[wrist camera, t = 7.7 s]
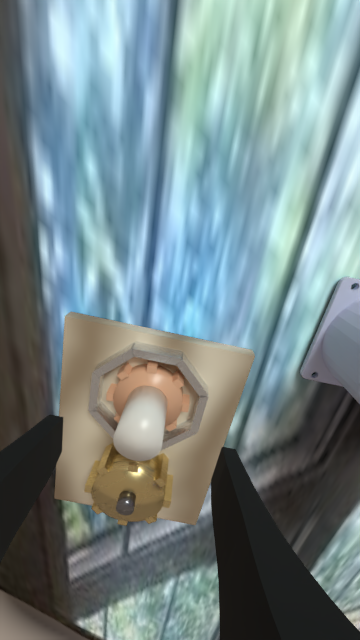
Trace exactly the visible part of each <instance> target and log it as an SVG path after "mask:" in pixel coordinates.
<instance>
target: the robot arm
mask: <svg viewBox="0 0 360 640" xmlns="http://www.w3.org/2000/svg"><path fill="white" fill-rule="evenodd" d="M354 283H356V286H355V288H353V289H351V286H352V284H354ZM314 372H316V374H315V375H311V374H312V373H314ZM300 374H301V376H302V377H303V378H305V379H308V380H313V381H318V382H323V383H328V384H332V385H337V386H342V387H344V388H345V389H346V390H347V391H348V392H349V393H350V394H351V395H352V396H353V398H354V399H355V400H356V401H357V402H358V403H359V404H360V279H356V278H351V277H343V278H342V279H340V280H339V282H338V284H337V286H336V289H335V291H334V293H333V295H332V298H331V300H330V302H329V305H328V307H327V309H326V312H325V314H324V316H323V319H322V321H321V323H320V326H319V328H318V330H317V333H316V335H315V337H314V340H313V342H312V344H311V346H310V349H309V351H308V353H307V356H306V358H305V360H304V363H303V365H302V367H301V370H300ZM62 439H63V417H60V416H54V415H49V416H47V417H46V418H44V419H43V420H42V421H40V422H39V423H38V424H37V425H35V426H34V427H33V428H31V429H30V430H29V431H28V432H26V433H25V434H24V435H22V436H21V437H20V438H18V439H17V440H15V441H14V442H13V443H11V444H10V445H9V446H7V447H6V448H4V449H3V450H2V451H0V562H1V560H2V558H3V557H4V555H5V553H6V551H7V549H8V547H9V545H10V543H11V541H12V539H13V538H14V536H15V534H16V532H17V531H18V529H19V527H20V526H21V524H22V522H23V521H24V519H25V517H26V516H27V514H28V513H29V511H30V509H31V508H32V506H33V504H34V503H35V501H36V499H37V498H38V496H39V494H40V493H41V491H42V489H43V488H44V486H45V484H46V483H47V481H48V479H49V478H50V476H51V474H52V472H53V470H54V468H55V466H56V464H57V461H58V459H59V457H60V455H61V453H62ZM211 506H212V517H213V527H214V536H215V546H216V556H217V565H218V578H219V607H220V640H360V632H359V630H358V629H357V628H356V627H355V626H354V625H353V624H352V623H351V622H350V621H349V620H348V618H347V617H346V616H345V615H344V614H343V613H342V611H341V610H340V609H339V608H338V607H337V606H336V604H335V603H334V602H333V601H332V600H331V599H330V597H329V596H328V595H327V594H326V593H325V591H324V590H323V589H322V587H321V586H320V585H319V584H318V582H317V581H316V580H315V579H314V577H313V576H312V575H311V573H310V572H309V571H308V570H307V568H306V567H305V566H304V564H303V563H302V562H301V560H300V559H299V558H298V556H297V555H296V553H295V552H294V551H293V549H292V548H291V546H290V545H289V543H288V542H287V541H286V539H285V538H284V536H283V535H282V533H281V532H280V530H279V528H278V527H277V525H276V524H275V522H274V520H273V519H272V517H271V516H270V514H269V512H268V511H267V509H266V507H265V505H264V504H263V502H262V500H261V498H260V497H259V495H258V493H257V491H256V489H255V487H254V486H253V484H252V482H251V480H250V478H249V476H248V474H247V472H246V470H245V468H244V466H243V464H242V462H241V460H240V458H239V455H238V453H237V451H236V450H235V449H231V448H225V447H222V448H221V451H220V454H219V457H218V460H217V463H216V466H215V469H214V472H213V475H212V479H211Z"/></svg>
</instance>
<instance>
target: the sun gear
mask: <svg viewBox="0 0 360 640" xmlns="http://www.w3.org/2000/svg"><path fill="white" fill-rule="evenodd" d="M168 462H169V458H168V457H167V456H166V455H165V454H164V453H162V454H160V455H157V456H155V457H154V458H152V459H150V460H146V461H134V460H130V459H128V458H126V457H124V456H122V455H121V454H120V453H119V452H118V451H117V450H116V448H115V446H114V443H112V444H110V445H108V446H106V448H105V450H104V453H103V455H102V458H101V461H97V460H95V462H94V465H93V467H92V470H91V472H90V475H89V477H88V479H87V482H86V484H85V490H84V492H87V493H91V495H92V499H93V501H94V503H93V506H92V510H93V511H95V512H96V513H97V514H99V513H102V512H103V513H105V514H106V515H108V516H110V517H112V518H115V519H118V524H120V525H126V526H127V522H128V521H130V522H135V521H143V520H145V521H146V522H147V523H148V524H150V523H152V522H155V521H156V520H157V513H158V512H159V511H160V510H161V508H162V507H165V508H169V507H170V504H171V497H172V484H173V475H169V474H167V472H168Z"/></svg>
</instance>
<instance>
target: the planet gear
mask: <svg viewBox="0 0 360 640" xmlns="http://www.w3.org/2000/svg"><path fill="white" fill-rule="evenodd" d="M158 363H159V362H157V361H152V360H149V361H148V364H141V365H137V366H134V367H132V366H131V365H130V364H129V363H126V364H125V365H123V366H122V367H121V368H120V370H119V372H118V374H117V376H118V377H119V379H120V380H119V382H118V384H113V383H111V385H110V387H109V389H108V391H107V394H106V400H107V401H113V404H114V407H115V410H116V414H115V417H114V419H115V420H116V421H117V422H118V426H117V429H116V431H115V434H114V438H113V443H114V446H115V448H116V450H117V451H118V452H119V453H120V454H121V455H122V456H124V457H126V458H128V459H130V460H134V461H146V460H150V459H152V458H154V457H155V456H157V455H158V454H159V452H160V451H161V448H162V442H163V435H164V428H166V429H167V430H168V431H169V432H170V431H172V430H173V429H175V428H176V426H177V418H178V417H179V415H180V413H181V412H188V410H189V403H190V395H187V394H183V389H182V386H184V375H183V374H182V373H181V372H180V371H179V370H178V371H176V372H175V373H172V372H171V371H170V370H168V369H166V368H164V367H162V366H159V365H158Z"/></svg>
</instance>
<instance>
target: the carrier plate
mask: <svg viewBox="0 0 360 640" xmlns="http://www.w3.org/2000/svg"><path fill="white" fill-rule="evenodd" d="M136 341H137V342H142V343H147V344H151V345H156V346H161V347H166V348H170V349H175V350H180V351H182V352H184V353H185V355H186V356H187V358H188V359H189V360H190V362H191V363H192V365H193V366H194V367H195V369H196V370H197V372H198V373H199V374H200V376H201V377H202V379H203V380H204V382H205V383H206V384H207V387H208V396H209V397H208V400H207V404H206V407H205V410H204V414H203V417H202V420H201V424H200V427H199V430H198V432H197V434H195V435H193V436H191V437H189V438H187V439H184V440H182V441H180V442H178V443H176V444H174V445H172V446H170V447H168V448H165V449H163V450H161V451H160V452H159V454H158V455H160V454H162V453H164V454H165V455H166V456H167V457H168V458H169V462H168V472H167V474H169V475H173V484H172V497H171V504H170V507H169V508H165V507H162V508H161V510H160V511H159V512H158V513H157V518H161V519H166V520H171V521H177V522H182V523H187V524H192V525H196V522H197V519H198V516H199V514H200V511H201V508H202V505H203V502H204V499H205V497H206V494H207V491H208V488H209V485H210V482H211V479H212V475H213V472H214V469H215V466H216V463H217V460H218V457H219V454H220V451H221V448H222V447H223V446H224V443H225V440H226V437H227V434H228V431H229V429H230V426H231V423H232V420H233V417H234V414H235V412H236V409H237V406H238V403H239V400H240V397H241V395H242V392H243V389H244V386H245V383H246V380H247V377H248V375H249V372H250V369H251V366H252V363H253V360H254V358H255V355H254V353H253V351H252V350H250V349H245V348H240V347H236V346H231V345H226V344H221V343H217V342H212V341H207V340H203V339H198V338H193V337H188V336H184V335H179V334H174V333H170V332H165V331H160V330H155V329H151V328H146V327H141V326H136V325H132V324H127V323H122V322H118V321H113V320H108V319H103V318H99V317H94V316H89V315H84V314H80V313H75V312H70V313H69V314H67V315H66V316H65V325H64V342H63V359H62V376H61V393H60V411H59V416H60V417H63V439H62V453H61V455H60V457H59V459H58V461H57V464H56V480H55V497H54V498H55V499H60V500H66V501H71V502H76V503H81V504H87V505H92V506H93V503H94V501H93V499H92V495H91V493H87V492H84V490H85V484H86V482H87V479H88V477H89V475H90V472H91V470H92V467H93V465H94V462H95V460H97V461H101V458H102V455H103V453H104V450H105V448H106V446H108V445H110V444H112V443H113V438H112V437H111V436H110V435H109V434H108V433H107V432H106V431H105V429H104V428H103V427H102V426H101V425H100V424H99V423H98V422H97V421H96V420H95V418H94V417H93V416H92V415H91V414H90V413H89V411H88V407H89V397H90V388H91V379H92V372H93V371H94V369H95V368H96V366H97V365H98V363H100V362H101V361H103V360H105V359H106V358H108V357H110V356H111V355H113V354H115V353H116V352H118V351H120V350H121V349H123V348H125V347H126V346H128V345H130V344H131V343H133V342H135V343H136ZM148 361H149V360H147V359H142V358H137V357H133V358H131V359H129V360H128V361H126V362H124V363H122V364H121V365H119V366H117V367H116V368H114V369H112V370H111V371H109V372H107V373H105V374H104V382H103V390H102V398H101V401H102V402H103V403H104V404H105V405H106V406H107V408H108V409H109V410H110V411H111V412H112V413H113V414H114V416H115V414H116V410H115V407H114V404H113V401H107V400H106V394H107V391H108V389H109V387H110V385H111V383H113V384H118V382H119V380H120V379H119V377H118V376H117V374H118V372H119V370H120V368H121V367H122V366H123V365H125V364H126V363H129V364H130V365H131V366H132V367H134V366H137V365H141V364H148ZM158 365H159V366H162V367H164V368H166V369H168V370H170V371H171V372H172V373H175V372H176V371H178V370H179V371H180V369H179V368H178V366H176V365H171V364H166V363H161V362H159V363H158ZM180 372H181V371H180ZM181 373H182V372H181ZM182 374H183V373H182ZM182 389H183V394H187V395H190V403H189V410H188V412H181V413H180V415H179V417H178V418H177V425H179V424H181V423H183V422H185V421H187V420H189V419H191V416H192V413H193V409H194V406H195V402H196V398H197V395H198V394H197V392H196V391H195V390H194V388H193V387H192V385H191V384H190V383H189V381H188V380H187V379H186V377H185V376H184V386H182ZM166 430H167V429H166V428H164V431H166Z"/></svg>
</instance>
